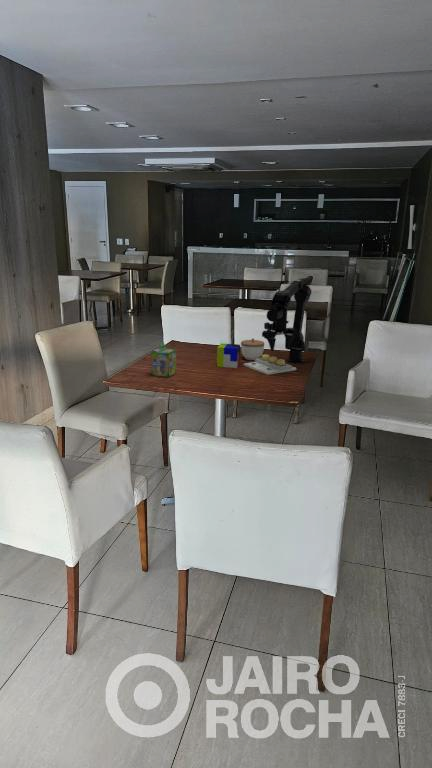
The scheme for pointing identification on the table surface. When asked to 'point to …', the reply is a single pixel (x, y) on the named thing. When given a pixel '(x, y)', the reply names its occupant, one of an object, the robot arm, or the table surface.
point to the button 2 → (280, 362)
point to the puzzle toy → (228, 355)
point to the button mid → (273, 360)
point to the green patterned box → (163, 361)
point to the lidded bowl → (252, 349)
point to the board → (268, 367)
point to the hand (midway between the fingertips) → (279, 350)
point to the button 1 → (265, 357)
